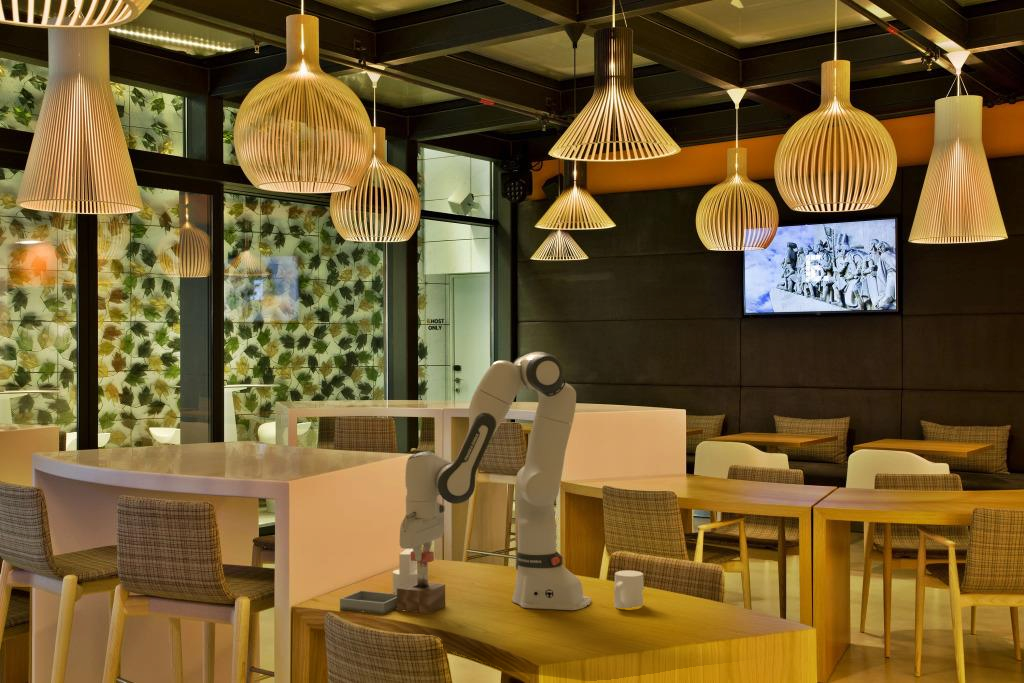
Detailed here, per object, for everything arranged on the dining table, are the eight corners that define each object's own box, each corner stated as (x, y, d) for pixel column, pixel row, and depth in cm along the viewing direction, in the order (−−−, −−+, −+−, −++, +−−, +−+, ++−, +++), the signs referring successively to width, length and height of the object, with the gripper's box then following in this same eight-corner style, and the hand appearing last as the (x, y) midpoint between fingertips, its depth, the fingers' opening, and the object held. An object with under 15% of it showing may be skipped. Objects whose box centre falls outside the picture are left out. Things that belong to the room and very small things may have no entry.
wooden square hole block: (445, 605, 298) (445, 584, 298) (428, 613, 289) (428, 591, 289) (414, 602, 302) (414, 581, 302) (396, 610, 293) (396, 588, 293)
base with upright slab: (418, 595, 310) (418, 554, 310) (389, 594, 311) (389, 554, 311) (426, 588, 319) (426, 549, 319) (397, 587, 320) (397, 548, 320)
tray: (403, 605, 298) (403, 594, 298) (383, 614, 288) (383, 603, 288) (360, 600, 304) (360, 590, 304) (340, 609, 293) (340, 598, 293)
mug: (624, 568, 303) (649, 572, 298) (624, 601, 303) (649, 605, 298) (604, 576, 293) (629, 579, 289) (604, 609, 293) (629, 613, 289)
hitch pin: (434, 588, 296) (434, 551, 296) (429, 591, 293) (429, 553, 293) (415, 587, 298) (415, 550, 298) (410, 589, 295) (410, 552, 295)
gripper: (413, 516, 285) (414, 567, 285) (447, 505, 303) (448, 553, 303) (393, 515, 287) (394, 565, 287) (428, 504, 306) (429, 551, 306)
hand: (422, 559), depth 295 cm, fingers closed on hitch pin, 2 cm apart
